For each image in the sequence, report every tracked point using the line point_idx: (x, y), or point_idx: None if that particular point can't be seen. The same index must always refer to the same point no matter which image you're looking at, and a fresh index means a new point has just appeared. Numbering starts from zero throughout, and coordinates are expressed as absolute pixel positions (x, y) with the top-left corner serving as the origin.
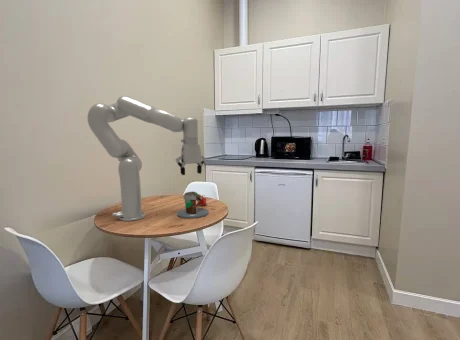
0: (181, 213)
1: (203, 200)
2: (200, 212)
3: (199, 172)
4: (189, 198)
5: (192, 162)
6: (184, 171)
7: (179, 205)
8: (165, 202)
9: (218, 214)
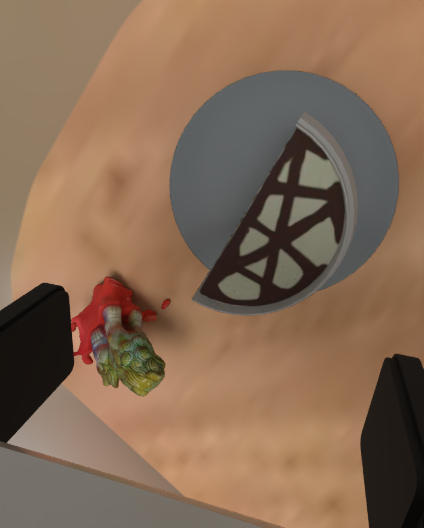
0: (362, 216)
1: (108, 299)
2: (251, 136)
3: (59, 312)
4: (347, 166)
5: (143, 509)
6: (419, 401)
7: (224, 397)
8: (246, 493)
9: (158, 42)
